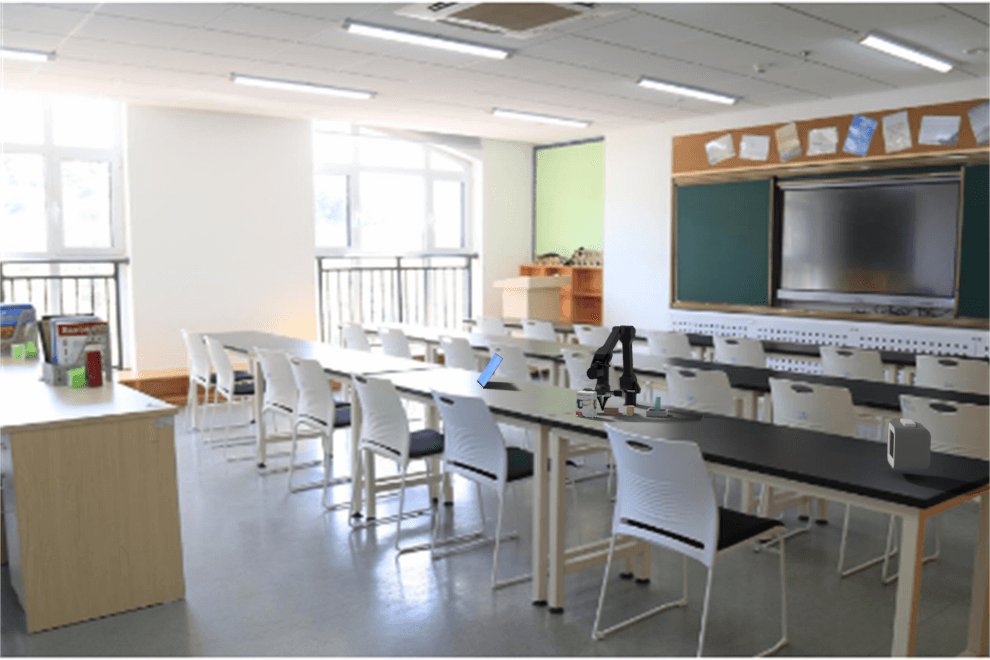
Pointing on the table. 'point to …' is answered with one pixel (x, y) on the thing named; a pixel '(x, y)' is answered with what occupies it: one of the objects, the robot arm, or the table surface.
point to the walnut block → (611, 410)
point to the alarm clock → (908, 445)
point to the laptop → (489, 370)
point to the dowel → (657, 403)
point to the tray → (656, 413)
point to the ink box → (586, 403)
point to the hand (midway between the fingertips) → (602, 410)
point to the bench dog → (629, 410)
